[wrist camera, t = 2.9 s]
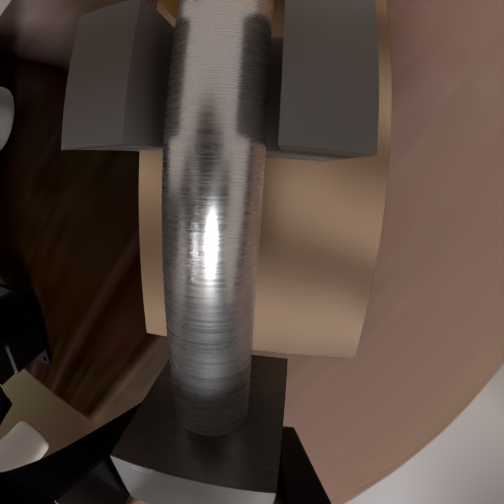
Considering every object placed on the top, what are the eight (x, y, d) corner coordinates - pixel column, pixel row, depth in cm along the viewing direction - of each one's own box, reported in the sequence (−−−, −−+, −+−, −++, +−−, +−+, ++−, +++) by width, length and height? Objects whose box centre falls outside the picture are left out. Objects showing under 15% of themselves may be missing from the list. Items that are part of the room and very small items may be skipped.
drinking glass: (17, 407, 26) (-45, 474, 11) (56, 441, 26) (0, 517, 12) (17, 425, 28) (-34, 485, 13) (52, 456, 28) (5, 521, 14)
